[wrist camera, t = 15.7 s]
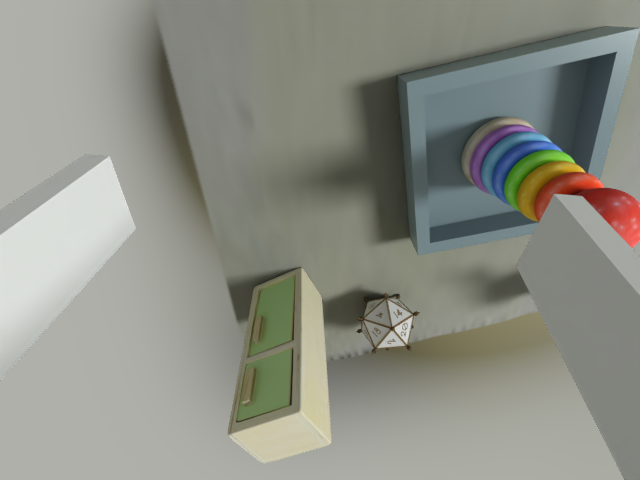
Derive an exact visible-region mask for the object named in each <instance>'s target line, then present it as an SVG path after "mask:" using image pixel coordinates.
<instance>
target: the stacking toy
mask: <svg viewBox="0 0 640 480" xmlns="http://www.w3.org/2000/svg"><path fill="white" fill-rule="evenodd" d="M461 164H462V169H463V172H464V174H465V176H466V178H467V179H468V180H469V181H470V182H471V183H472V184H474V185H475V186H477V187H478V188H479V189H480V190H482V191H483V192H485V193H488V194H492V195H493V196H495V197H497V198H499V199H500V200H501V201H502V202H504V203H506V204H508V205H511V206H512V207H513V208H514V209H516V210H518V211H520V212H521V213H522V214H523V215H524V216H525V217H527V218H529V219H531V220H533V221H537V222H539V221H540V219H541V217H542V216H543V214H544V212H545V210H546V208H547V206H548V204H549V202H550V201H551V199H552V197H553V195H554V194H563V195H575V196H583V197H584V198H585V199H586V201H587V202H588V203H589V204H590V205H591V206H592V207H593V208H594V209H595V210H596V211H597V212H598V213H599V214H600V215H601V216H602V217H603V218H604V219H605V220H606V221H607V222H608V224H609V225H610V226H611V227H612V228H613V229H614V230H615V231H616V232H617V233H618V234H619V235H620V236H621V237H622V238H623V239H624V240H625V241H626V242H627V243H628V244H629V246H630V247H631V248H633V247H634V246H635V245H636V244H637V243H638V242H639V241H640V203H639V202H638V201H637V200H636V199H635V198H633V197H632V196H631V195H629V194H627V193H625V192H623V191H620V190H616V189H611V188H604V186H603V184H602V182H601V181H600V180H599V179H598V178H597V177H595V176H593V175H591V174H589V173H586V172H585V171H584V170H583V169H582V168H581V167H580V166H579V165H577V164H576V163H575V162H574V160H573V159H572V158H571V157H570V156H569V155H568V154H566V153H564V152H563V151H562V150H561V149H560V148H559V147H558V146H556V145H555V144H553V143H552V142H551V141H550V140H549V139H548V138H547V137H546V136H544V135H542V134H540V133H538V132H537V131H536V130H535V129H534V128H533V127H532V126H531V125H530V124H529V123H528V122H527V121H525V120H523V119H520V118H517V117H501V118H497V119H494V120H492V121H489V122H488V123H486V124H484V125H483V126H481V127H480V128H479V129H478V130H477V131H475V133H474V134H473V135H472V136H471V137H470V139H469V140H468V142H467V143H466V145H465V147H464V150H463V153H462V159H461Z"/></svg>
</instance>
